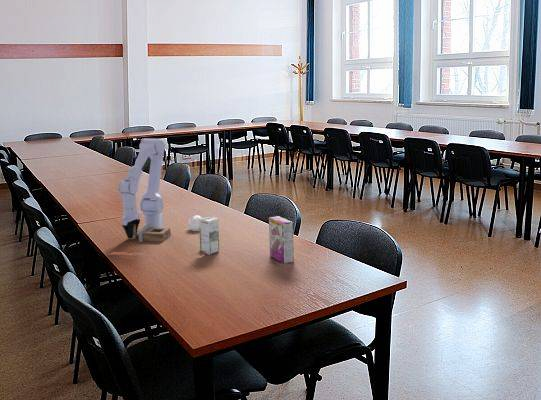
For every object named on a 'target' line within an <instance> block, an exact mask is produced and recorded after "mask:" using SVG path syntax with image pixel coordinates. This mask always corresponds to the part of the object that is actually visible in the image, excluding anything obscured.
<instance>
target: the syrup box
mask: <svg viewBox="0 0 541 400" xmlns="http://www.w3.org/2000/svg"><path fill="white" fill-rule="evenodd" d="M219 226H220V225H219V219H218V218H217V217H214V216H207V217H203V219H199V230H200V231H199V247H200V248H199V250H200V251H201V252H203V254H205V255H209V256H210V255H213V254H216V253H219V252H220V238H219V237H220V234H219V233H220V232H219V231H220V229H219V228H220V227H219Z"/></svg>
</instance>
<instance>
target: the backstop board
mask: <svg viewBox="0 0 541 400" xmlns="http://www.w3.org/2000/svg"><path fill="white" fill-rule="evenodd" d="M150 228H151V224H148V225H146V226H145V225H144V226H143V227H141V228H140V229H138V230H137V235H138V242H139V243H141V242H145V241H144V240H143V233H144V232H146V231H147V230H149V229H150Z"/></svg>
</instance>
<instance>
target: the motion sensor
mask: <svg viewBox="0 0 541 400" xmlns="http://www.w3.org/2000/svg"><path fill="white" fill-rule="evenodd" d="M203 218H204V217H203V216H201V215H199V214H198V215H197V214H196V215H193V216H192V217H190V218H189V220H188V221H187V225H188V228H189V230H190V231H193V232H200V230H199V219H203Z"/></svg>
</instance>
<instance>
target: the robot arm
mask: <svg viewBox="0 0 541 400" xmlns="http://www.w3.org/2000/svg"><path fill="white" fill-rule="evenodd" d="M138 146H139V147H138V148H139V152H138V155H137V157H136V160H135V163H134V165H132V166H130V168H129V169H128V172H127V174H126V175H125V178H124V179H123V180H122V181H121V182H120V183H119V186H118V192H119V193H120V197H121V198H122V207H123V208H122V210H123V216H122V217H121V219H122V220H121V226H122V228H123V230H124V232H125V235H126V237H127V239H128V238H133V229H134V225H135V226H136V236H138V231H139V229H138V228H139V224H140V222H141V219H139V218H140V213H139V212H137V210H138V209H137V208H138V207H137V196H136V193H137V192H138V190H139V181H140V179H141V177H142V174H143V170H142V169H143V167H144V165H145V163H146V161H147V160H148V158H149V159H150V166H149V172H148V174H149V175H148V182H147V189H146V192H145V193H144V194H143V195H142V198H141V200H140V203H139V208H140V211H141V212H142V214H144V223H145V225H144V227H145V226H146V225H148V224H151V228H164V217H163V216H164V215H163V214H162V212H163V210H164V197H162V196H161V195H160V193H159V192H160V185H161V178H162V177H161V176H162V168H163V167H162V166H163V160H164V156H165V154H164V153H165V149H166V144H165V142H164V140H163V139H162V138H146V137H145V138H142V139H141V141H140V143H139V145H138Z"/></svg>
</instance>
